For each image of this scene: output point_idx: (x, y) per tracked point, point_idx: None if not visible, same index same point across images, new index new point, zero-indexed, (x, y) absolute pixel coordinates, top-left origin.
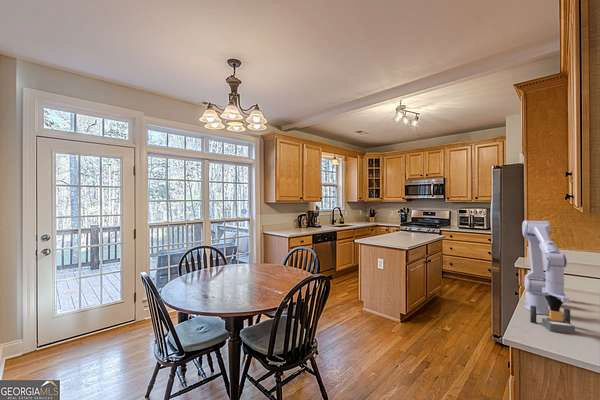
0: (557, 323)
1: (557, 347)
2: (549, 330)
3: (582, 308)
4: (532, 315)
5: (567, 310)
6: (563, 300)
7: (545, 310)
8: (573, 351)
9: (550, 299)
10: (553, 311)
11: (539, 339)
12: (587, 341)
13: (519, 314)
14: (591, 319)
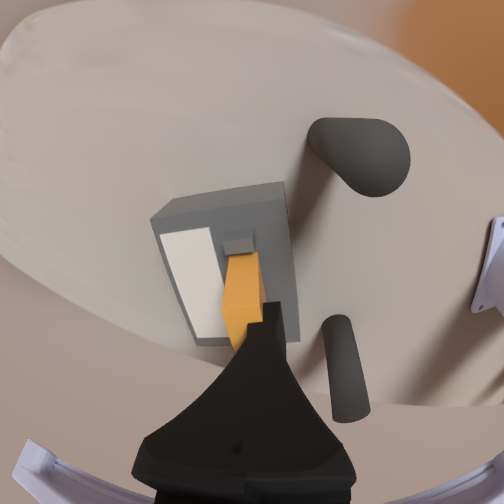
0: (189, 273)
1: (8, 179)
2: (183, 197)
3: (497, 389)
4: (321, 127)
5: (333, 412)
6: (25, 454)
7: (494, 294)
8: (13, 224)
9: (140, 449)
10: (228, 329)
11: (33, 121)
12: (138, 320)
13: (463, 110)
14: (426, 401)
